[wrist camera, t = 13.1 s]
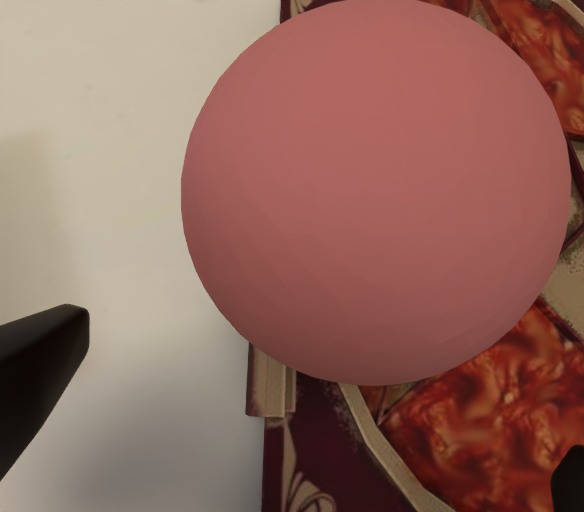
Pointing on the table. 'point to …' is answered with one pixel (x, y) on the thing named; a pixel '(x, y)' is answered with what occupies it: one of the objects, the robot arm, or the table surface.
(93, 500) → the table surface
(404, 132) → the pink screw bulb
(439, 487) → the book
